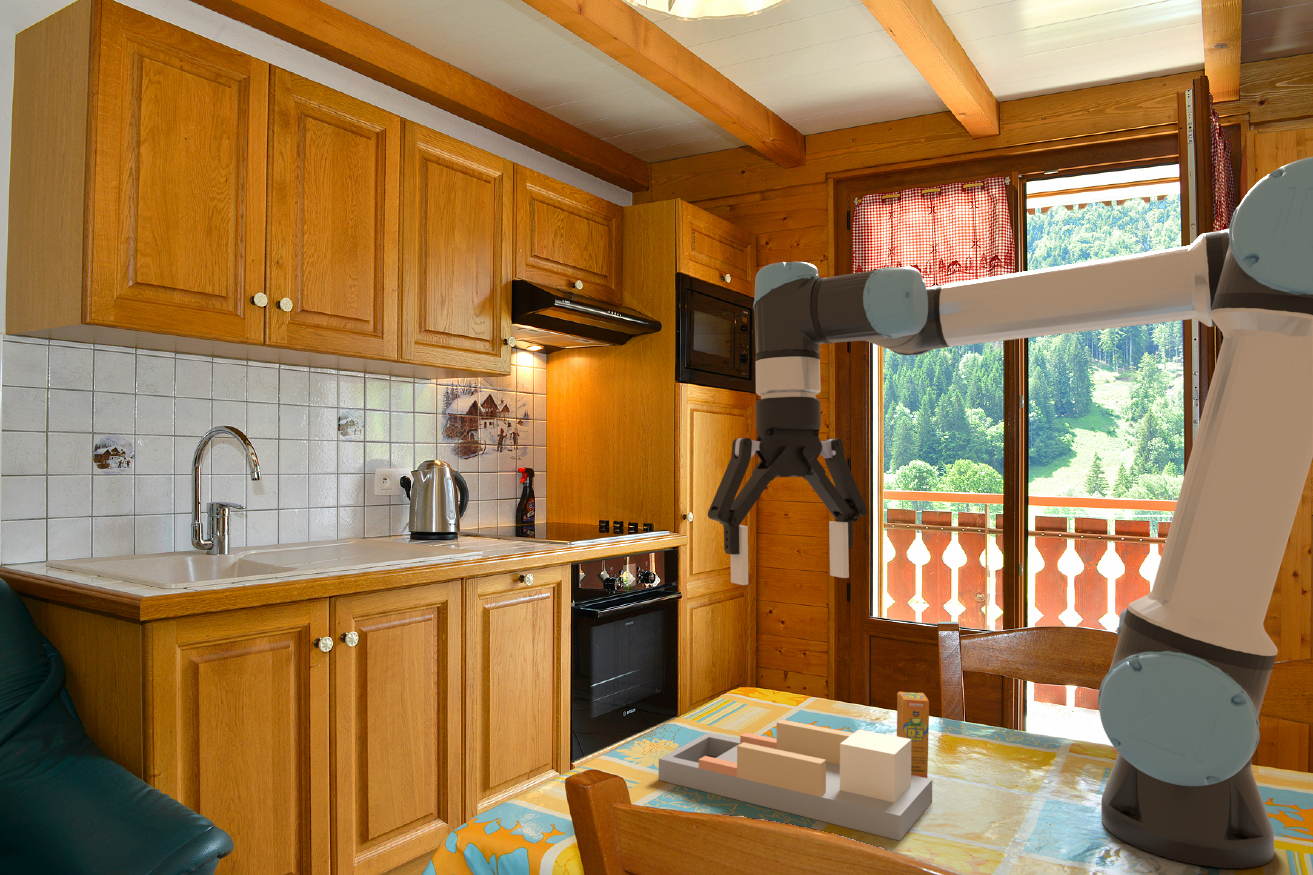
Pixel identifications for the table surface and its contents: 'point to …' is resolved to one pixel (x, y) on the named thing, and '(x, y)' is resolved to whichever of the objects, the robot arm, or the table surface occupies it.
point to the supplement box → (914, 728)
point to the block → (875, 765)
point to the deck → (792, 778)
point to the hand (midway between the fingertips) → (790, 580)
